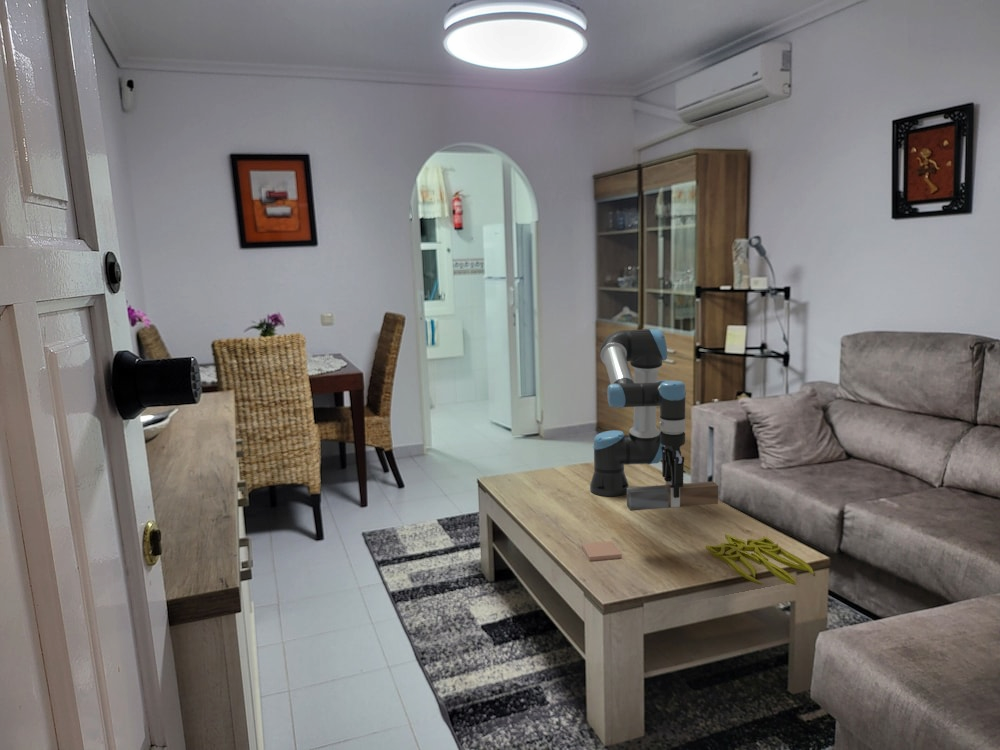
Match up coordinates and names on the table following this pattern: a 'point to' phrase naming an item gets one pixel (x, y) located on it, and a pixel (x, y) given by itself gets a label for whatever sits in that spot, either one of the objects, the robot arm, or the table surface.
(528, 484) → the table surface
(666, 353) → the robot arm
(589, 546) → the tile
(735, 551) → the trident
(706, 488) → the brown and grey bar
